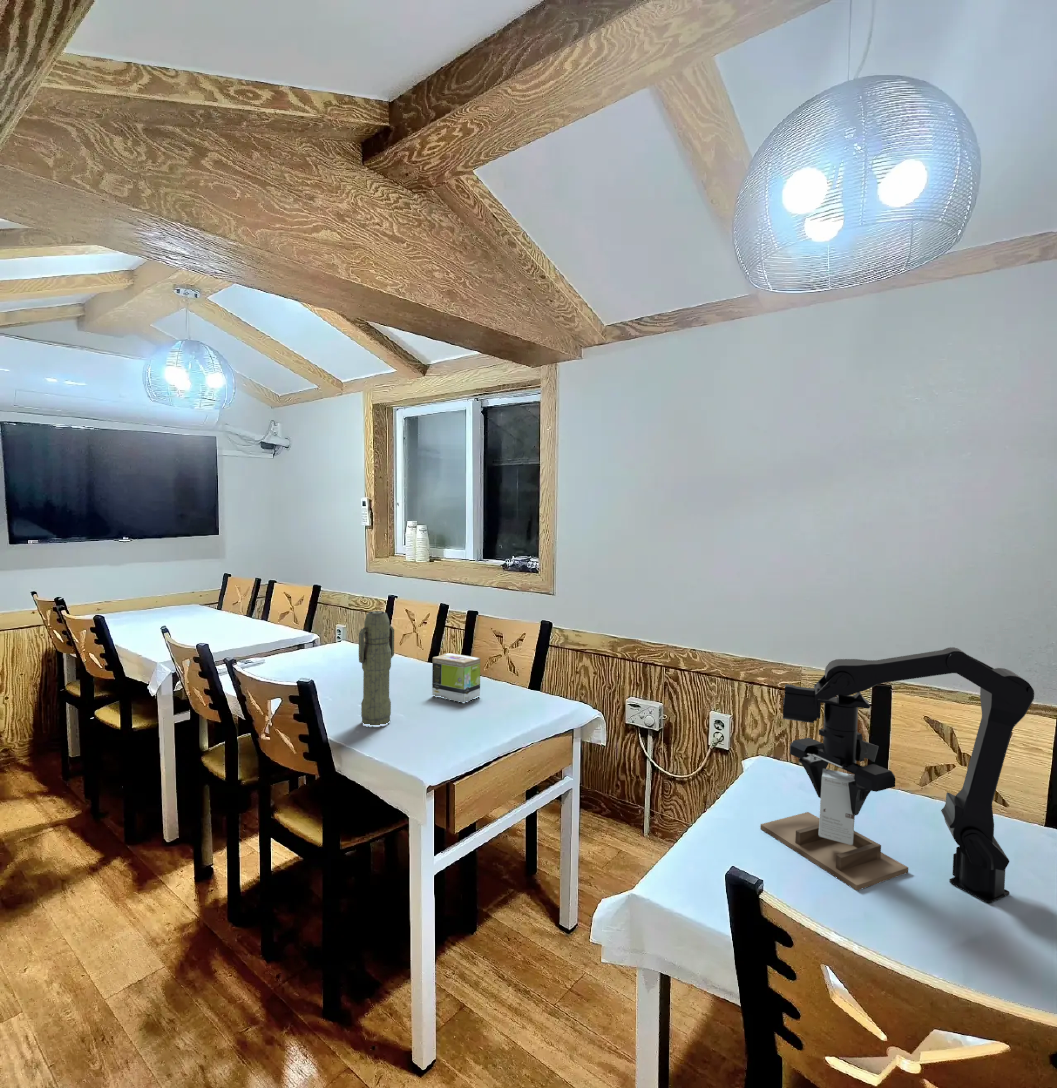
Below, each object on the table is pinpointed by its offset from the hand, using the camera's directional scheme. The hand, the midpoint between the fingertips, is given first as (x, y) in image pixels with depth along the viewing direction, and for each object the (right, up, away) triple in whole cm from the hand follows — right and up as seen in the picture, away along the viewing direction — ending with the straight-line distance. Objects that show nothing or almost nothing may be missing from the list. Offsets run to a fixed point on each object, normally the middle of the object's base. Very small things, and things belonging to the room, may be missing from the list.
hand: (837, 805), depth 111 cm
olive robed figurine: (-108, -6, +69) cm, 128 cm away
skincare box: (0, -6, 0) cm, 6 cm away
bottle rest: (0, -10, +3) cm, 10 cm away
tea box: (-86, -5, +97) cm, 130 cm away
